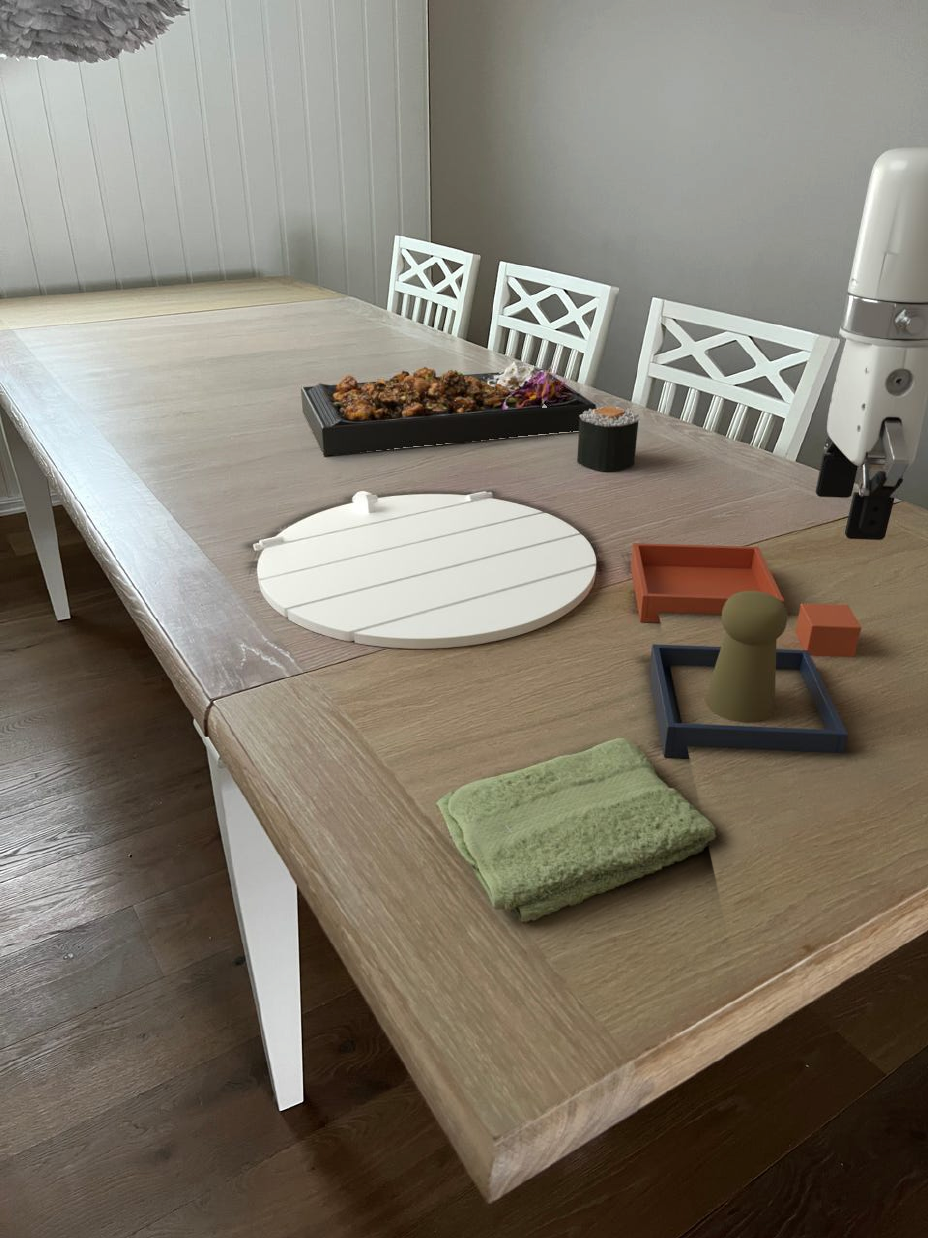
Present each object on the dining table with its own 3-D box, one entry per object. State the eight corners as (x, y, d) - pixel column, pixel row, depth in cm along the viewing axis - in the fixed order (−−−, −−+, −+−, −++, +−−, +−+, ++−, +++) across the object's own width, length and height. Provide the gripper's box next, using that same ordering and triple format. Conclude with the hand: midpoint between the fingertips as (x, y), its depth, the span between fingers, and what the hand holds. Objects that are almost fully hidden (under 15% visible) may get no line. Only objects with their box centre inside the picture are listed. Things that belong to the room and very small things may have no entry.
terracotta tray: (754, 571, 107) (758, 546, 105) (779, 627, 95) (784, 600, 94) (630, 567, 108) (632, 542, 106) (640, 622, 96) (642, 595, 95)
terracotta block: (839, 644, 92) (848, 604, 90) (852, 668, 88) (861, 627, 86) (792, 642, 92) (800, 603, 90) (803, 666, 88) (812, 625, 86)
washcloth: (427, 814, 70) (426, 781, 68) (626, 757, 76) (629, 724, 75) (501, 939, 59) (502, 902, 58) (726, 860, 66) (732, 825, 64)
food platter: (542, 392, 174) (544, 336, 169) (594, 430, 153) (598, 368, 148) (302, 412, 163) (297, 352, 158) (324, 456, 142) (318, 389, 137)
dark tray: (802, 678, 86) (808, 649, 85) (840, 765, 75) (848, 734, 73) (648, 672, 88) (651, 644, 86) (663, 757, 76) (667, 726, 75)
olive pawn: (764, 737, 77) (786, 622, 72) (694, 717, 80) (710, 604, 75) (781, 702, 82) (803, 591, 77) (714, 683, 85) (730, 576, 79)
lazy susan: (211, 538, 115) (208, 512, 114) (479, 481, 133) (479, 458, 131) (342, 689, 85) (340, 657, 83) (667, 589, 102) (670, 561, 101)
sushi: (567, 461, 140) (570, 409, 136) (604, 450, 144) (608, 399, 141) (607, 475, 134) (612, 422, 130) (644, 463, 139) (649, 410, 135)
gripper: (984, 343, 67) (925, 558, 75) (903, 300, 82) (861, 483, 90) (877, 341, 67) (830, 554, 76) (816, 299, 82) (783, 480, 91)
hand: (847, 516), depth 83 cm, fingers open, 9 cm apart
